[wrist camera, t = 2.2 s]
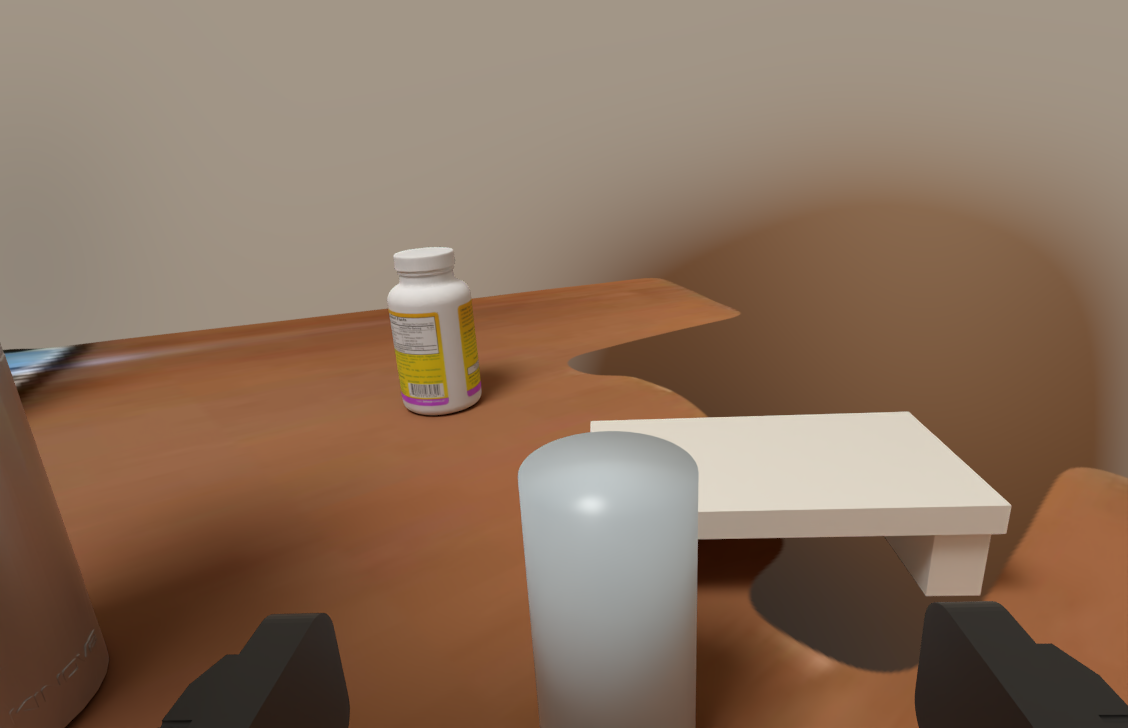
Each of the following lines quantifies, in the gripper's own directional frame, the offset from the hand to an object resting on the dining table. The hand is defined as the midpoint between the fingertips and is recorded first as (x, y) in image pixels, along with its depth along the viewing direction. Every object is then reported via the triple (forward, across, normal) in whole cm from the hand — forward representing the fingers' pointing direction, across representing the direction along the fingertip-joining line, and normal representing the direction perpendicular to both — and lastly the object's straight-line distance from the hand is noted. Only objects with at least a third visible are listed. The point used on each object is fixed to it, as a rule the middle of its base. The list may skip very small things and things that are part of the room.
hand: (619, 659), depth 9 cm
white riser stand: (+24, -8, +14) cm, 28 cm away
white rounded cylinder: (+12, 0, +14) cm, 18 cm away
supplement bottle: (+44, +14, +14) cm, 49 cm away
